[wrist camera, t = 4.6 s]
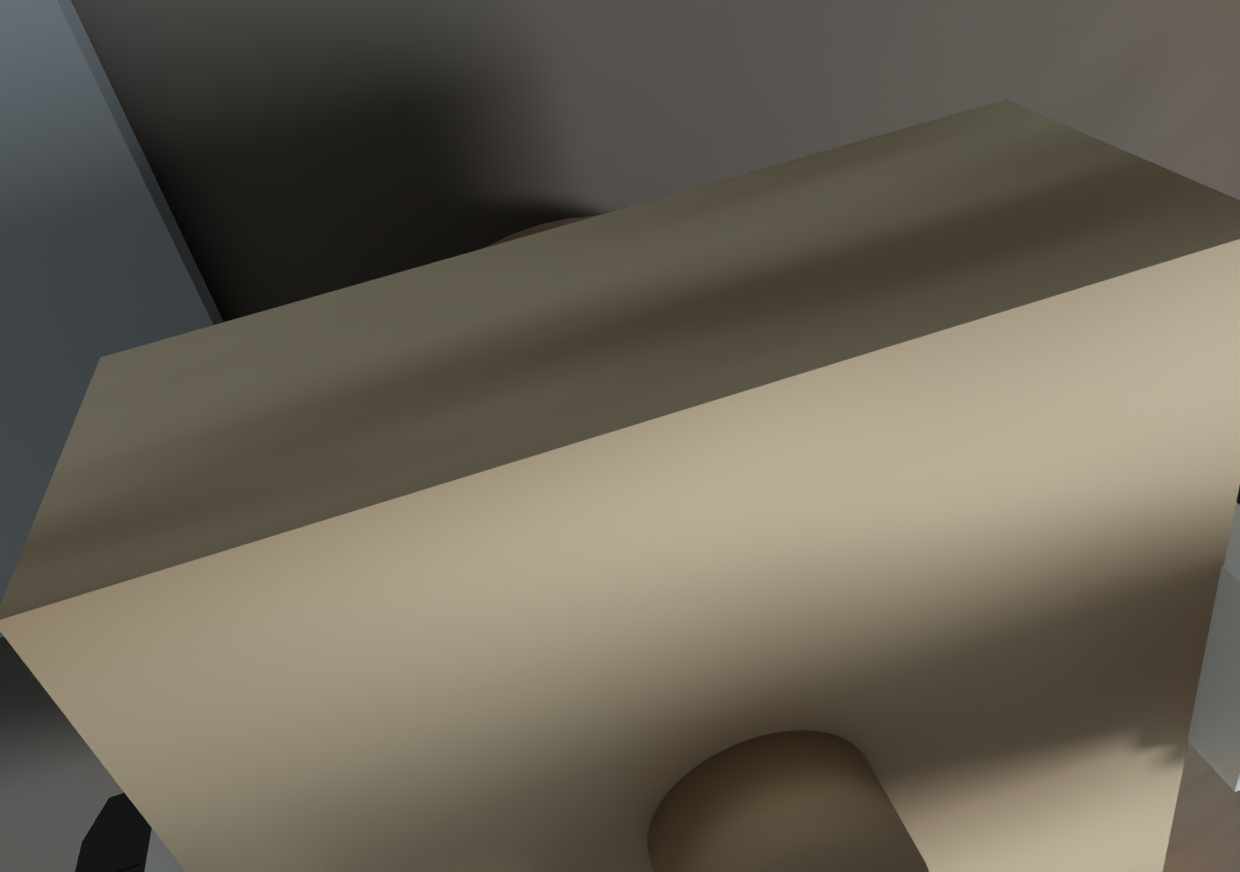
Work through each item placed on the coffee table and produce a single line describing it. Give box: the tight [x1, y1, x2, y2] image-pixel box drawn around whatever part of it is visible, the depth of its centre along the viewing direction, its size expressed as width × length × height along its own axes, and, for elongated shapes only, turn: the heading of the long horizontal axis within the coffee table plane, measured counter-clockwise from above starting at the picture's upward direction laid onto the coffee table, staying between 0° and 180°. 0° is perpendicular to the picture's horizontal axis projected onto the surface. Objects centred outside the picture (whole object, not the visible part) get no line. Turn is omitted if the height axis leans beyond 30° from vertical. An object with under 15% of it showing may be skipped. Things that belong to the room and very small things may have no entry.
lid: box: [0, 100, 1240, 872], centre depth 11 cm, size 10×10×5 cm
